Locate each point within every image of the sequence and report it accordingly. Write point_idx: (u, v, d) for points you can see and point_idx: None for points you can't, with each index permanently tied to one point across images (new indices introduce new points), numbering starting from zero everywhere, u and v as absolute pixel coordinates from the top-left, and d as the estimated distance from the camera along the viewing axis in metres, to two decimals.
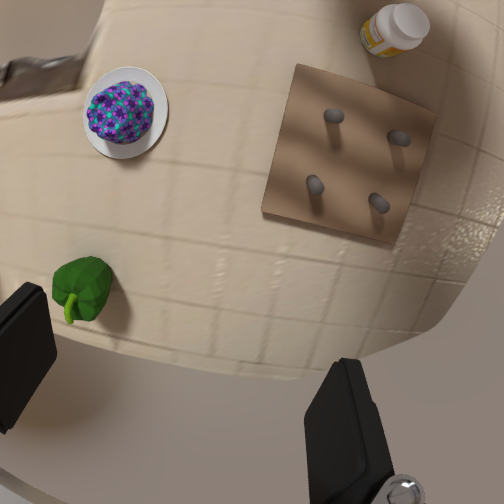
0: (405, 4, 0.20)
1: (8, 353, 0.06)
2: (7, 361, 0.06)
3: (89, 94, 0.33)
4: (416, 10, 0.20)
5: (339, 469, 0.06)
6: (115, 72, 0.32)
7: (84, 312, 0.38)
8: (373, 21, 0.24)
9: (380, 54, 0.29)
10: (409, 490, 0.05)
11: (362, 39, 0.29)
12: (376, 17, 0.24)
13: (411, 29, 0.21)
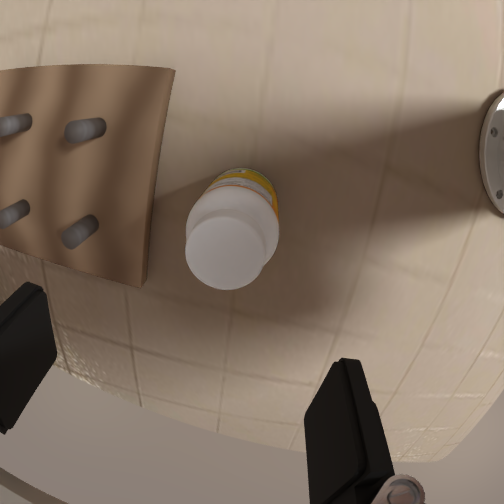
0: (258, 244, 0.15)
1: (8, 353, 0.06)
2: (7, 361, 0.06)
3: None
4: (250, 266, 0.16)
5: (339, 469, 0.06)
6: None
7: None
8: (238, 183, 0.18)
9: None
10: (409, 490, 0.05)
11: (230, 170, 0.23)
12: (241, 187, 0.17)
13: (201, 251, 0.16)
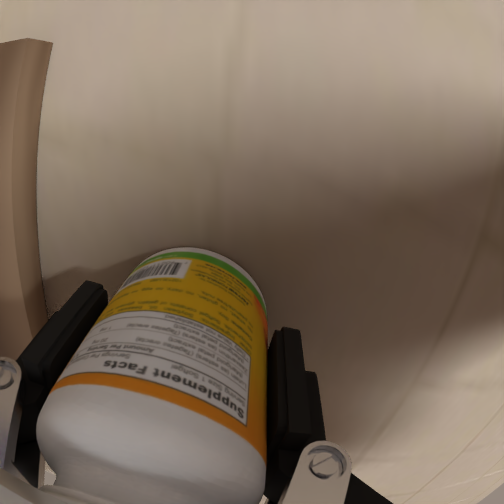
0: None
1: None
2: None
3: None
4: None
5: (268, 431, 0.07)
6: None
7: None
8: (145, 357, 0.06)
9: None
10: (331, 456, 0.06)
11: (160, 254, 0.10)
12: (143, 396, 0.05)
13: None
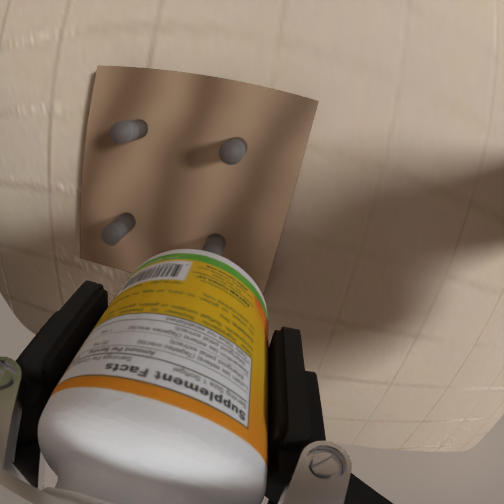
0: None
1: (75, 352, 0.07)
2: None
3: None
4: None
5: (268, 431, 0.07)
6: None
7: None
8: (146, 360, 0.06)
9: None
10: (331, 456, 0.06)
11: (161, 256, 0.10)
12: (145, 399, 0.05)
13: None
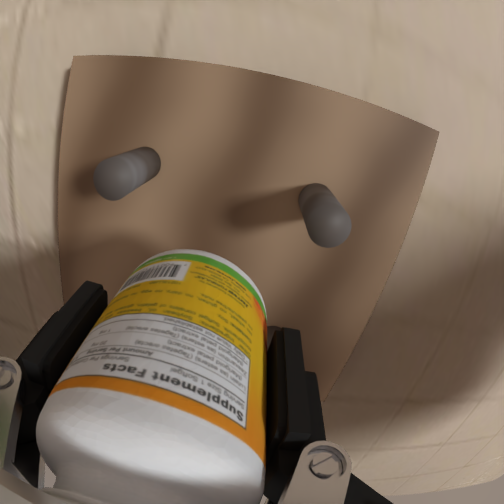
0: None
1: (75, 352, 0.07)
2: None
3: None
4: None
5: (268, 431, 0.07)
6: None
7: None
8: (144, 360, 0.06)
9: None
10: (331, 456, 0.06)
11: (160, 257, 0.10)
12: (142, 399, 0.05)
13: None
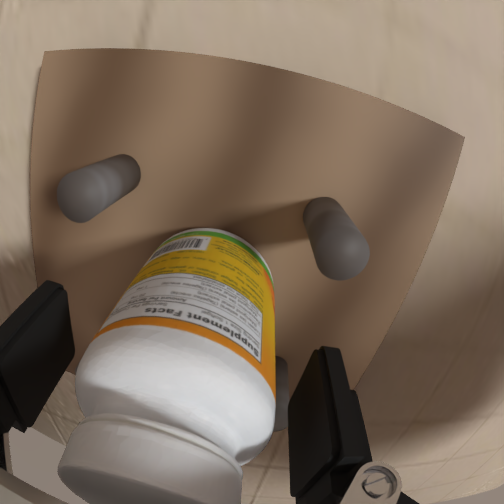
0: None
1: (31, 351, 0.07)
2: (29, 359, 0.07)
3: None
4: None
5: (316, 455, 0.06)
6: None
7: None
8: (179, 305, 0.07)
9: None
10: (384, 477, 0.05)
11: (183, 233, 0.12)
12: (180, 331, 0.07)
13: (93, 495, 0.05)
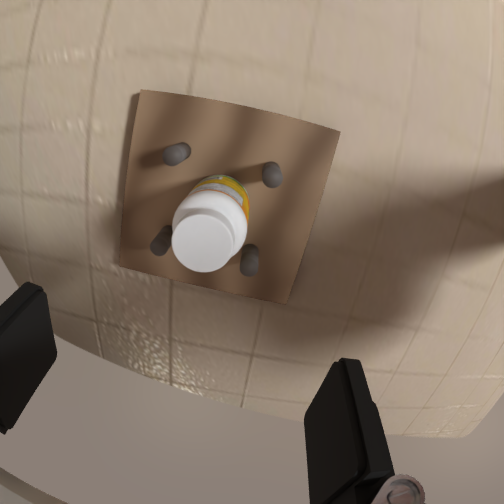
0: (227, 236, 0.20)
1: (8, 353, 0.06)
2: (7, 361, 0.06)
3: None
4: (221, 253, 0.20)
5: (339, 469, 0.06)
6: None
7: None
8: (215, 188, 0.23)
9: None
10: (409, 490, 0.05)
11: (210, 176, 0.27)
12: (216, 191, 0.22)
13: (184, 241, 0.20)
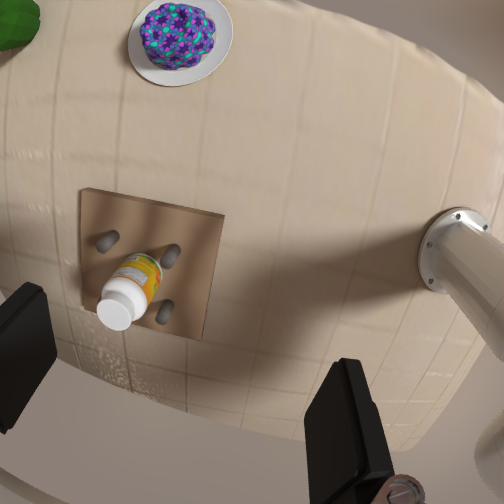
0: (126, 312, 0.30)
1: (8, 353, 0.06)
2: (7, 361, 0.06)
3: None
4: (125, 321, 0.30)
5: (339, 469, 0.06)
6: (223, 12, 0.27)
7: None
8: (126, 273, 0.33)
9: None
10: (409, 490, 0.05)
11: (132, 255, 0.37)
12: (124, 278, 0.32)
13: (103, 313, 0.30)
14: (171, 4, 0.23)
